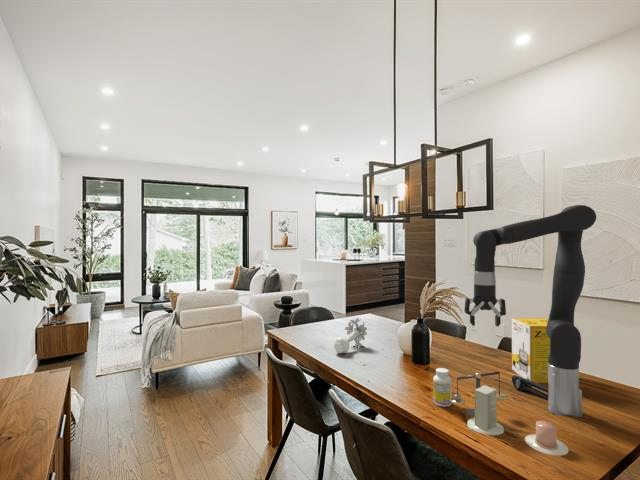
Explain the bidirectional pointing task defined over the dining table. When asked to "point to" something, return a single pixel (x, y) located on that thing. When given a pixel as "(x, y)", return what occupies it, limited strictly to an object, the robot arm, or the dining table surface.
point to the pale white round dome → (493, 431)
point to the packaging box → (530, 348)
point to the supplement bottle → (442, 388)
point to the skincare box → (485, 407)
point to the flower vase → (350, 337)
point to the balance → (457, 396)
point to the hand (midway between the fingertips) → (484, 325)
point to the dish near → (559, 451)
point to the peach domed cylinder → (546, 435)
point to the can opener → (529, 386)
